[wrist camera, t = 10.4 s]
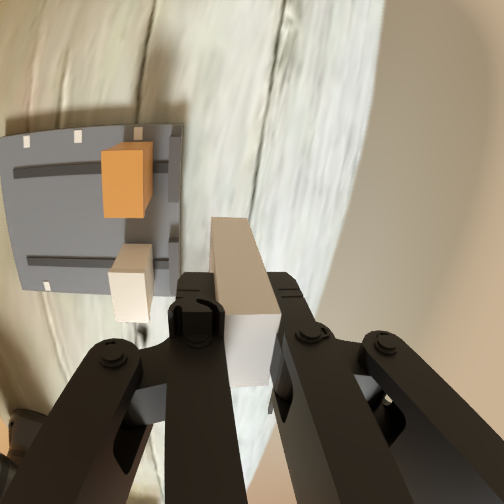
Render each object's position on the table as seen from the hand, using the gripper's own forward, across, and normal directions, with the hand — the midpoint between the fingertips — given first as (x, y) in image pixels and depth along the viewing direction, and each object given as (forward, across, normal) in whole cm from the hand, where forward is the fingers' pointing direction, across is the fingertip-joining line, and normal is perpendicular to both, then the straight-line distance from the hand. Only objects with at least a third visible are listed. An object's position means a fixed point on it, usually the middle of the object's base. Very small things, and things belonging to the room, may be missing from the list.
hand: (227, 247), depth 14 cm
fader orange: (+16, -7, 0) cm, 18 cm away
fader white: (+16, -7, -10) cm, 20 cm away
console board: (+18, -13, -5) cm, 23 cm away
